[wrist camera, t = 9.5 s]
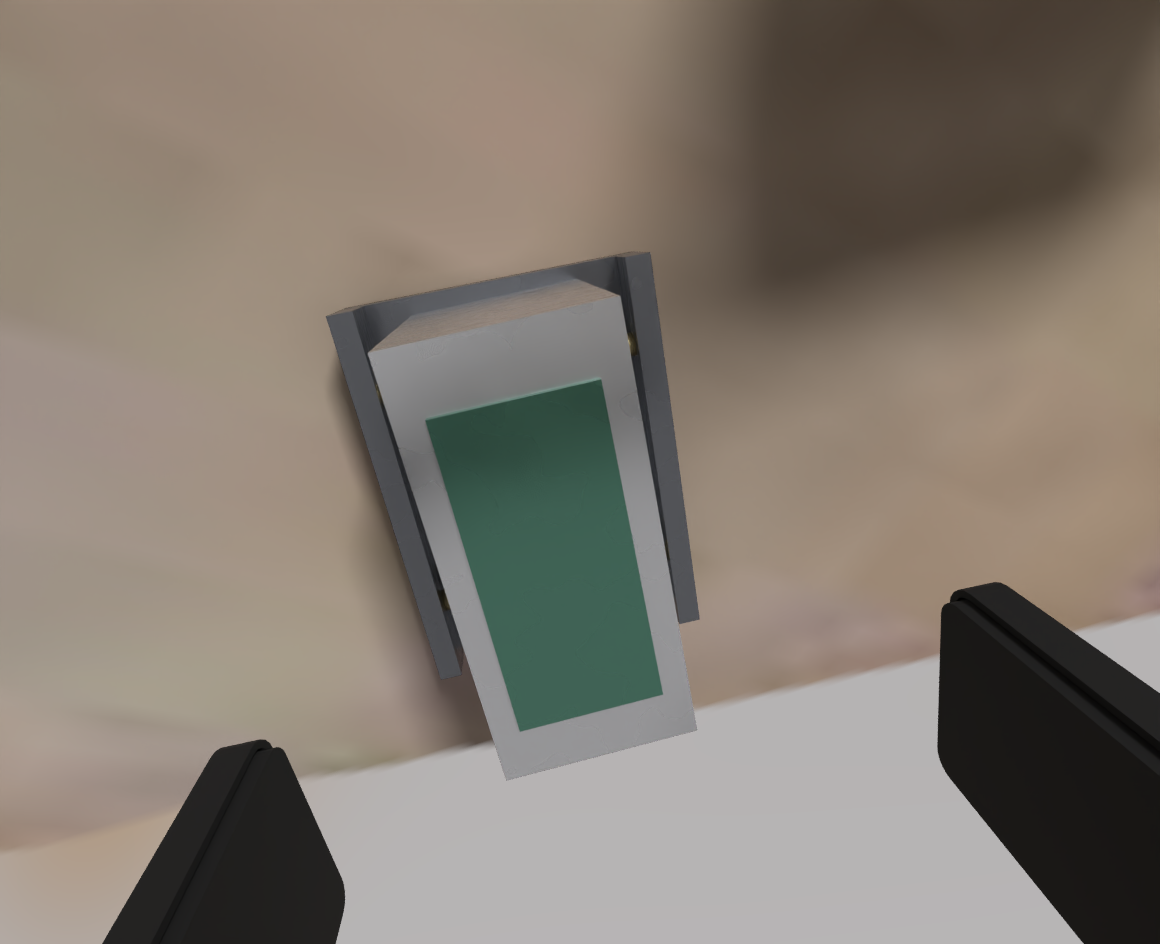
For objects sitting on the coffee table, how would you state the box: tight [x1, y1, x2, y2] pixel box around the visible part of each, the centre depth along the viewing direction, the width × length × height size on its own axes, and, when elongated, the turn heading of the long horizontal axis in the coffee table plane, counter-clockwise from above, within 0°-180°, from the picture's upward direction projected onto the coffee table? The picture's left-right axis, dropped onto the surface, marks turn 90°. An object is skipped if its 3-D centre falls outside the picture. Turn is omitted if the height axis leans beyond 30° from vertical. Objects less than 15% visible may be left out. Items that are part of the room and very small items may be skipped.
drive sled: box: [326, 252, 699, 680], centre depth 20 cm, size 9×12×2 cm
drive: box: [368, 279, 697, 780], centre depth 17 cm, size 5×11×7 cm, turn 12°
